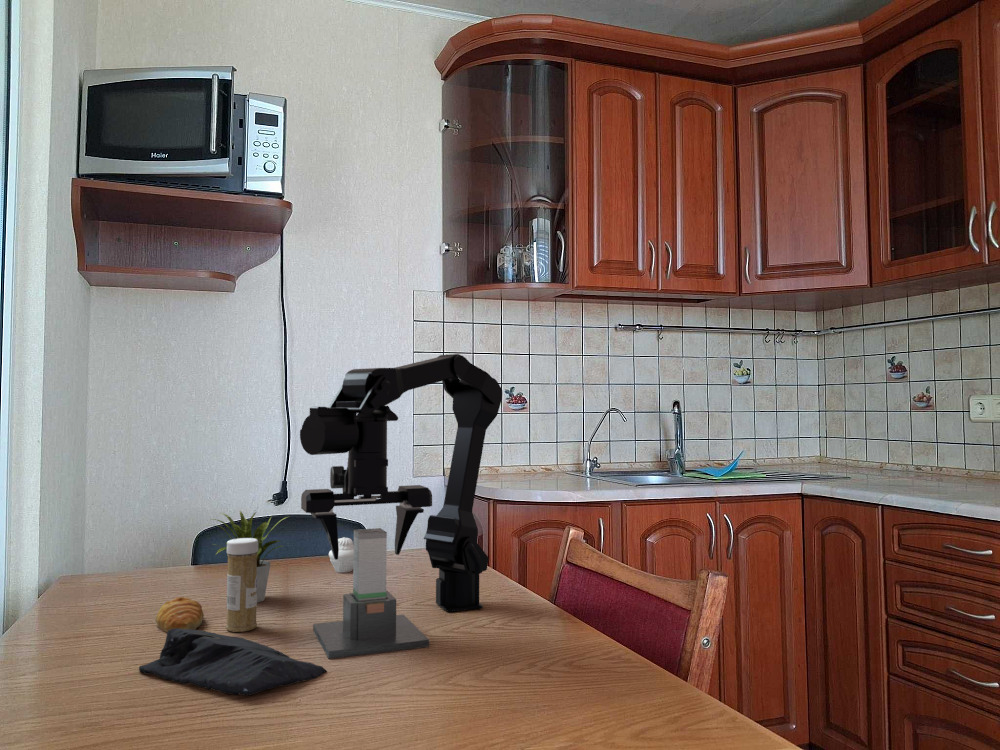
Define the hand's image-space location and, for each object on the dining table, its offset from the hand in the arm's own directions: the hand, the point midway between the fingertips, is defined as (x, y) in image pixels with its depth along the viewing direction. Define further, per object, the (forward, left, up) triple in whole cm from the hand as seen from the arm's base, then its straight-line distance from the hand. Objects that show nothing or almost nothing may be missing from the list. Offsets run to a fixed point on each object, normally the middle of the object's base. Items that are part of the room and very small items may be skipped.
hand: (367, 556), depth 113 cm
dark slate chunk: (+19, +9, -12) cm, 25 cm away
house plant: (+16, -28, -12) cm, 34 cm away
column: (0, +2, -6) cm, 6 cm away
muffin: (-5, -45, -12) cm, 47 cm away
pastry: (+26, -15, -12) cm, 32 cm away
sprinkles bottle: (+17, -10, -12) cm, 23 cm away
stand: (0, +2, -11) cm, 12 cm away
